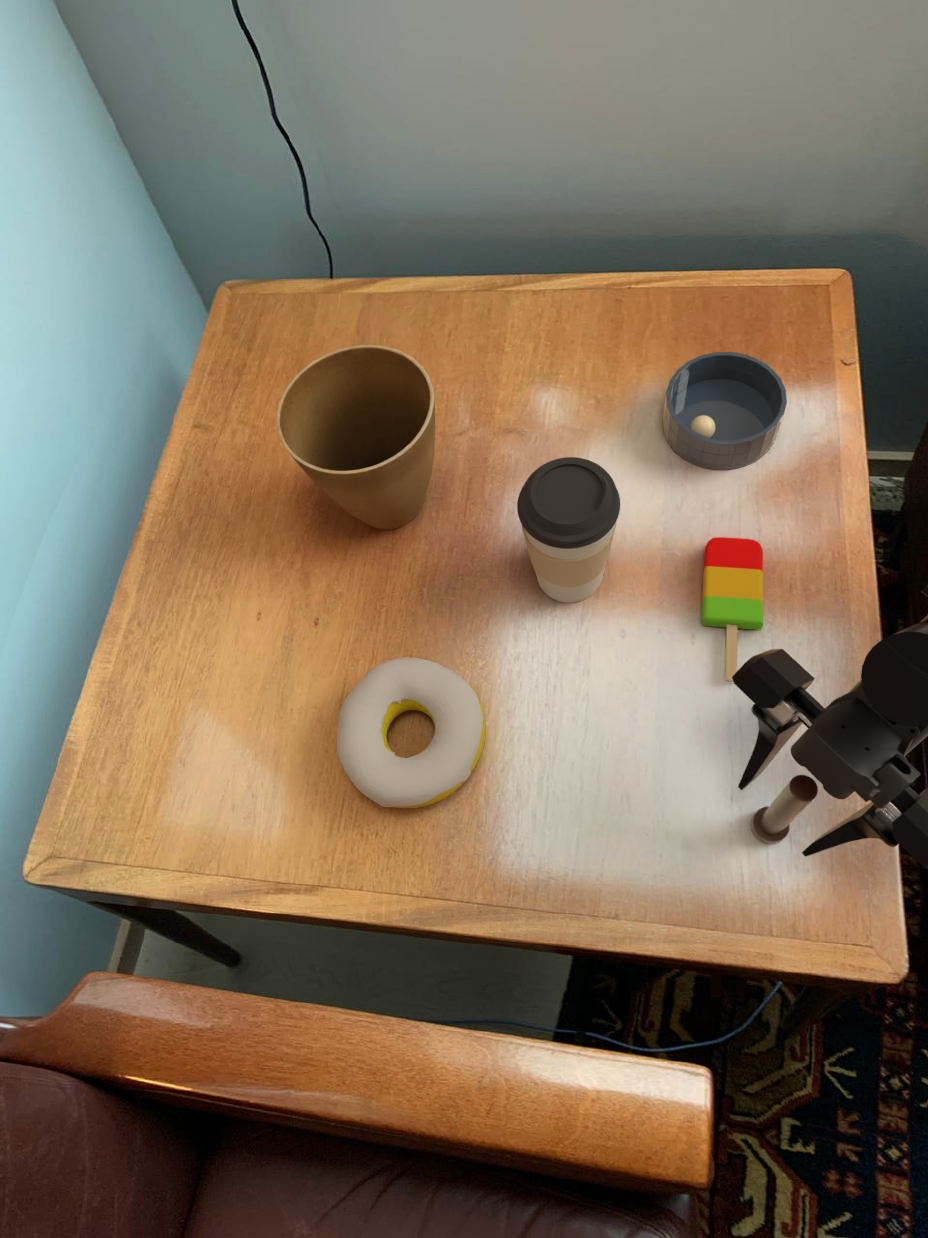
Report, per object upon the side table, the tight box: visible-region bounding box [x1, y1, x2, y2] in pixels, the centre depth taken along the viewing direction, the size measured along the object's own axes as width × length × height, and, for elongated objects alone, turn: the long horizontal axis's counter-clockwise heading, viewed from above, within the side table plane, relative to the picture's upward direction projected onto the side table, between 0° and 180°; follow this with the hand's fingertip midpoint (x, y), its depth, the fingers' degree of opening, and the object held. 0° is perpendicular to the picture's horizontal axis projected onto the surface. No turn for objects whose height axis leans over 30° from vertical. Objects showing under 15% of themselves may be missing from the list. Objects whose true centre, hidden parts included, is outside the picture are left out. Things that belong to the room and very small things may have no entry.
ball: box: [690, 415, 715, 438], centre depth 91 cm, size 3×3×3 cm
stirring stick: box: [750, 774, 819, 845], centre depth 69 cm, size 3×3×13 cm
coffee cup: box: [516, 456, 621, 604], centre depth 81 cm, size 9×9×15 cm
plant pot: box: [276, 344, 436, 531], centre depth 87 cm, size 15×15×16 cm
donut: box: [336, 656, 487, 809], centre depth 80 cm, size 14×14×5 cm
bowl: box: [662, 351, 788, 471], centre depth 91 cm, size 12×12×4 cm
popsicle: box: [701, 536, 764, 683], centre depth 83 cm, size 6×15×2 cm, turn 172°
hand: (772, 819), depth 68 cm, fingers open, 6 cm apart
